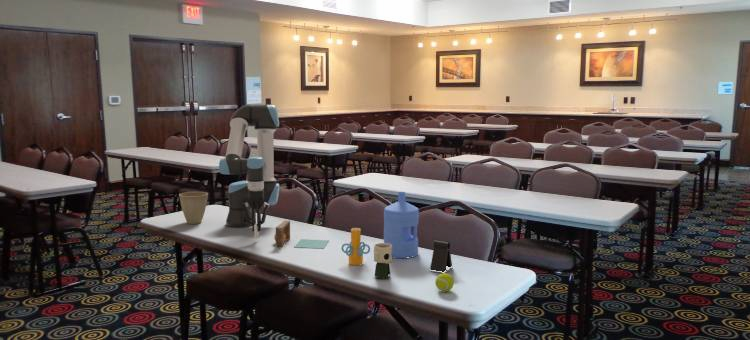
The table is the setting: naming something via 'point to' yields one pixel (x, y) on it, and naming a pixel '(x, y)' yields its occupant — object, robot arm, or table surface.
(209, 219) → the table surface
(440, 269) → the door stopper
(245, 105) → the robot arm
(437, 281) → the tennis ball
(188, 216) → the plant pot
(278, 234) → the bridge
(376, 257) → the character mug
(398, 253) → the water jug
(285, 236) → the ball
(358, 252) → the orange post with rings
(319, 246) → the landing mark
